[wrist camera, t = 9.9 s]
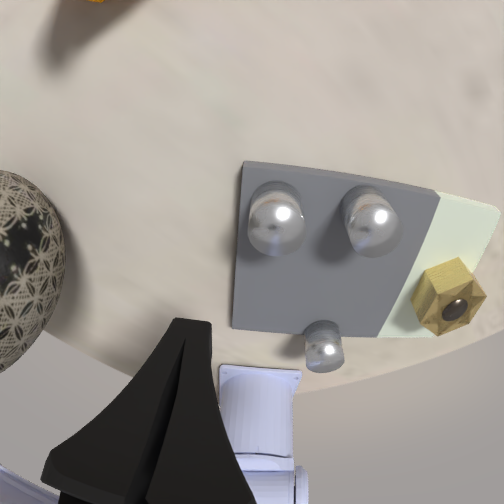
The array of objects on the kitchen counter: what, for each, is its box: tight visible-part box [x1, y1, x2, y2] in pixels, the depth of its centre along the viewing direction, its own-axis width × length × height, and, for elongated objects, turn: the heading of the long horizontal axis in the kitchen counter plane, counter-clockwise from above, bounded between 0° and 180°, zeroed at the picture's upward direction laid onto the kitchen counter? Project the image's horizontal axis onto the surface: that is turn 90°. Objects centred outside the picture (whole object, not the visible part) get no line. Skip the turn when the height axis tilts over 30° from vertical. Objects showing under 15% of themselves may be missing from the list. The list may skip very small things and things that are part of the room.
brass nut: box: [410, 257, 487, 336], centre depth 19 cm, size 6×5×3 cm
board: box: [232, 161, 501, 338], centre depth 20 cm, size 13×18×1 cm
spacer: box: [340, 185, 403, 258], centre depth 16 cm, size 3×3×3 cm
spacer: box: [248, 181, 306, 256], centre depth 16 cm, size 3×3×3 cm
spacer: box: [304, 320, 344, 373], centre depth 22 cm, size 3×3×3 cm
